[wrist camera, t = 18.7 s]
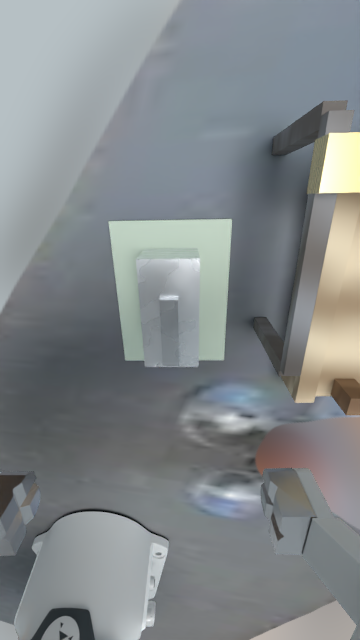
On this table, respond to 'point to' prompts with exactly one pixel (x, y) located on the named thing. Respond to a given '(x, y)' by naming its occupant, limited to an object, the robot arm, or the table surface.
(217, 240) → the sage mat
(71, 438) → the table surface
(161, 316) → the grey block with handle
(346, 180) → the brass bolt
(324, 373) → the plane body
